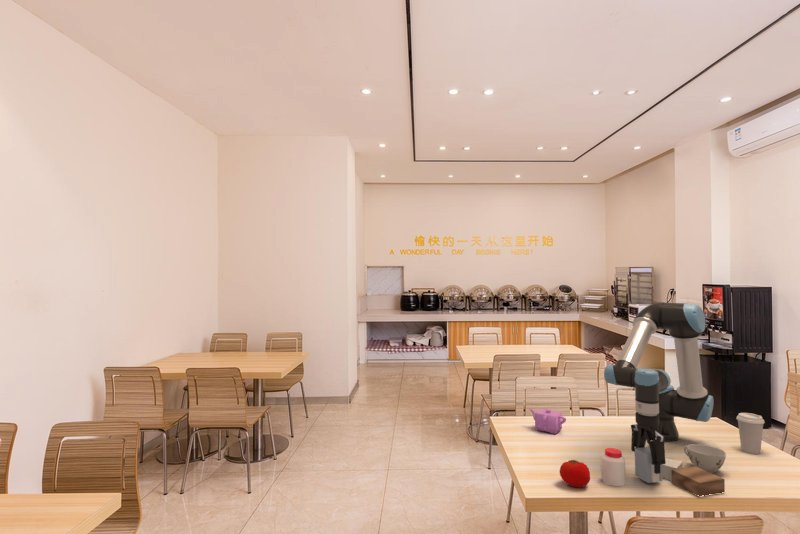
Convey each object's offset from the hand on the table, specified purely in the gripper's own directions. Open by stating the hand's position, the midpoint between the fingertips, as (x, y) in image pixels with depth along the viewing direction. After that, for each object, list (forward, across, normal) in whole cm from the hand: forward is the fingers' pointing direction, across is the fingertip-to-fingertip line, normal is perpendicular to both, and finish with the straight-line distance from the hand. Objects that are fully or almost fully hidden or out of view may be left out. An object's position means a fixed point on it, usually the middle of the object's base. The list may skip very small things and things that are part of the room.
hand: (648, 477), depth 164 cm
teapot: (+2, -58, -4) cm, 58 cm away
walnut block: (+2, +8, +13) cm, 16 cm away
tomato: (+1, -4, -27) cm, 28 cm away
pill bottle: (+1, -3, -12) cm, 13 cm away
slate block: (0, 0, 0) cm, 0 cm away
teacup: (+2, -4, +29) cm, 29 cm away
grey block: (+2, -3, +11) cm, 12 cm away
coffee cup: (+3, -14, +65) cm, 66 cm away
